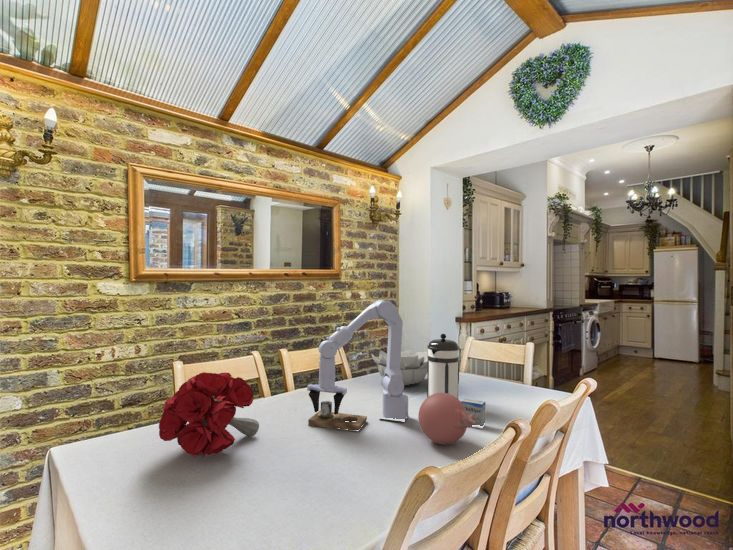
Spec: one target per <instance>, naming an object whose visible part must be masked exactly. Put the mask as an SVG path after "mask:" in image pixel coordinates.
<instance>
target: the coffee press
mask: <svg viewBox="0 0 733 550" xmlns="http://www.w3.org/2000/svg"><path fill="white" fill-rule="evenodd" d="M446 338H447V335H446V334H445V333H442V334H440V338H439V339H432V340H430V341H429V342H428V344H427V350H428V351H427V353H428V368H427V375H426V380H427V381H426V386H427V387H426V398H428V397H429V396H431V395H433V394H436V393H447V394H451V395H453V396H455V397H456V398H457V399H459V383H460V358H459V350H460V346H459V345H458V343H457V342H456V341H454V340H451V339H446Z"/></svg>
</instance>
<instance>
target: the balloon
mask: <svg viewBox="0 0 733 550" xmlns="http://www.w3.org/2000/svg"><path fill="white" fill-rule="evenodd" d="M461 401H462V400H460V399H459V398H458V399H457V398H456V397H455V396H453V395H451V394H447V393H436V394H433V395H431V396H429V397H428V398H427V397H425V399H424V401H423V402H422V403H421V405H420V407H419V410H418V424H419V426H420V430H421V431H422V433H423V435H424V436H425V437H426V438H427V439H429V441H431V442H433V443H436V444H438V445H443V444H447V445H451V444H454V443H456V442H458V441H459V440H460V439H462V437H463V436H464V435H465V433H466V431H467V428H468V429H469V428H473V427H472V425H477V422H476V419H475V416H474V415H473V414H470V415H468V413H467V412H466V409H465V407H464V405H463V404H462V403H461Z"/></svg>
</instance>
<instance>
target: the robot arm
mask: <svg viewBox="0 0 733 550" xmlns="http://www.w3.org/2000/svg"><path fill="white" fill-rule="evenodd" d="M379 318H380V319H382V320H383V322H385V323H386V324H387V325H388V330H387V331H388V334H387V335H388V336H387V349H386V350H387V353H386V354H387V367H386V369H385V371H384V376H383V378H382V377H381V386H382V387H383V388H384V389H383V390H382V414H383V417H385V418H393V419H395V418H396V419H406V417H407V416H408V417H409V395H407V394H404V393H403V392H404V390H405V386H404V383H403V381H402V373H401V370H400V362H401V352H402V345H403V344H402V340H403V319H402V317H401V315H400V313H399V311H398V308H397V306H396V305H394V304H393V302H391V301H390V300H383V299H378V300H375V301H374V302H373V303H371V304H370V305H368V306H367V307H366V308H365V309H364V310H363V311H362V312H360V313H359V315H357V317H355V319H353V320H352V321H351V322H349V324H348V325H347V326H346V325H344V326H343V325H341V326H340V327H337V328H335V329H336V331H335V332H333V333H332V334H331V335H330V336H326V338H325V339H326V340H323V341H322V342H320V344H319V346H318V352H319V353H320V354H319V362H318V363H319V364H318V367H319V368H318V384H308V385H307V386H306V389H307V390H306V391H307V392H308V396H309V398H310V401H311V402H312V406H313V410H314V413H318V412H319V411H320V410H319V409H320V395H321V393H329V394H330V393H331V394H334V395H333V403H334V405H333V406H334V411H333V412H334V414H335V415H337V414H338V413H339V410H340V406H341V403H342V401H343V400H344V399H343V398H344V397H345V395H347V393H348V392H347V391H348V390H347V389H348V387H343V386H342V387H341V386H338V385H336V361H335V360H336V355H337V352H338V350H339V351H340V350H341V349H342V347H344V346H345V345H346V344H347V343H348V342H349V341H351V339H353V335H354V333H355V332H356V331H358V329H360V328H361V327H362V326H363V325H365V324H366V323H368V322H369V320H375V319H379ZM408 417H407V418H408ZM406 420H407V419H406Z"/></svg>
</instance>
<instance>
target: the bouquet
mask: <svg viewBox="0 0 733 550" xmlns="http://www.w3.org/2000/svg"><path fill="white" fill-rule="evenodd" d="M215 399H216V400H215ZM253 402H254V393H253V389H252V387H251V386H250V385H249V384H248V382H247V381H246V380H245V379H244V378H243V377H240V376H237V377H233V376H232V374H231V373H230V372H221V373H216V372H214V373H213V372H206V371H205V372H204V371H203V372H199V374H196V375H194V376H192V377H190V378H188V380H187V381H185V382H184V383H182V384H181V385H180V386H179V389H178V390H177V391H176V392H174V393H173V395H172V396H171V397H169V398H168V399H167V400H165V402H164V406H163V412H162V414H161V417H160V420H159V423H158V430H159V432H158V436H159V439H161V440H162V441H163V442H167V441H168V442H170V441H172V440H174V439H177V440H176V442H177V444H178V445H179V446H180V448H181V449H182V450H183V451H184V452H185V453H186V454H187V455H189V456H192V457H197V456H200V455H202V457H203V458H205V457H206V456H210V455H215V454H219V453H221V452H223V451H224V450H227V449H228V448H230V447H231V446H233V445H234V443H235V441H236V438H235V437H234V436H233V434H231V432H230V431H229V430H228V429H226V428H227V427H228V425H230V426H231V427H233V428H234V429H236V430H237V431H238V432H240V433H241V434H243V435H245V436H248V437H254V436H255V435H256V434H257V433H258V431H259V429H260V423H259V421H258V420H256V419H254V418H249V417H248V418H247V417H235V415H236V411H237V408H241V409H245V407H250V406H251V405H252V404H253Z"/></svg>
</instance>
